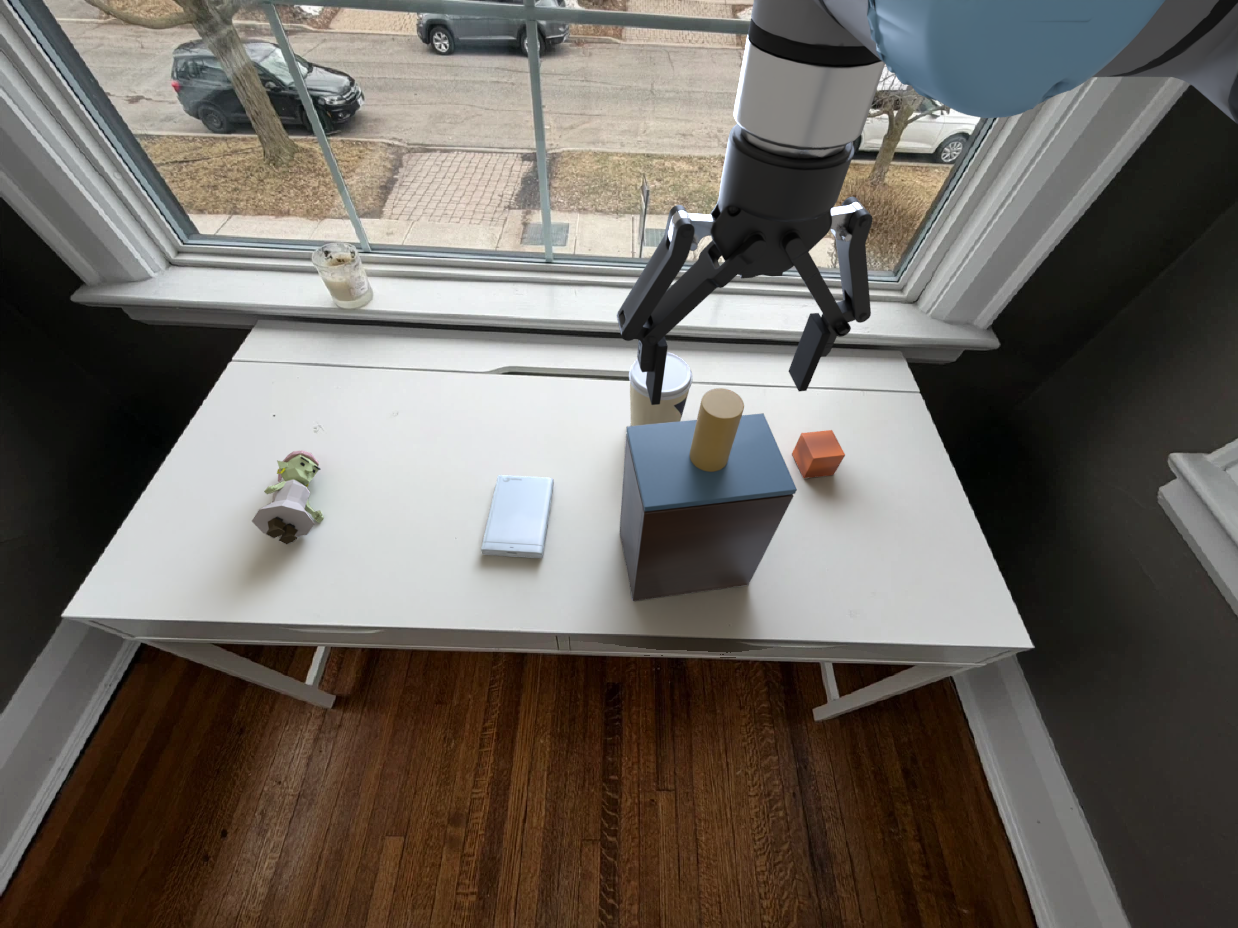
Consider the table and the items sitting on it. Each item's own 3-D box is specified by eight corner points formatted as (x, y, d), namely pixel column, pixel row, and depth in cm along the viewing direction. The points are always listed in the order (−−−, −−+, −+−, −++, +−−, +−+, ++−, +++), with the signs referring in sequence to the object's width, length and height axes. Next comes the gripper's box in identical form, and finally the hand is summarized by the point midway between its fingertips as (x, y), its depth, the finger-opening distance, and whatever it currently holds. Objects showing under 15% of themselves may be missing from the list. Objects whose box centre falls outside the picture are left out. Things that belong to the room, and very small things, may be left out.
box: (748, 585, 72) (793, 496, 56) (632, 601, 70) (644, 513, 54) (726, 518, 79) (761, 419, 62) (619, 531, 77) (626, 433, 60)
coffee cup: (683, 450, 86) (694, 395, 77) (624, 446, 86) (628, 392, 77) (682, 407, 92) (692, 351, 82) (626, 404, 92) (630, 348, 82)
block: (833, 475, 84) (845, 454, 80) (803, 478, 83) (813, 458, 79) (821, 450, 87) (832, 429, 83) (791, 453, 86) (801, 432, 82)
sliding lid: (795, 494, 55) (823, 437, 49) (644, 511, 54) (651, 455, 47) (761, 417, 62) (782, 358, 55) (626, 431, 60) (630, 371, 53)
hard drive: (497, 474, 80) (480, 548, 72) (553, 477, 80) (541, 552, 72) (499, 480, 81) (482, 555, 74) (554, 484, 81) (542, 558, 74)
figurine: (271, 510, 66) (295, 424, 76) (226, 534, 68) (255, 447, 77) (329, 541, 72) (344, 458, 82) (286, 562, 74) (307, 478, 84)
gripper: (950, 101, 36) (838, 349, 53) (579, 110, 33) (584, 370, 50) (1018, 151, 32) (872, 404, 49) (595, 166, 29) (594, 431, 46)
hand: (726, 387), depth 49 cm, fingers open, 13 cm apart
